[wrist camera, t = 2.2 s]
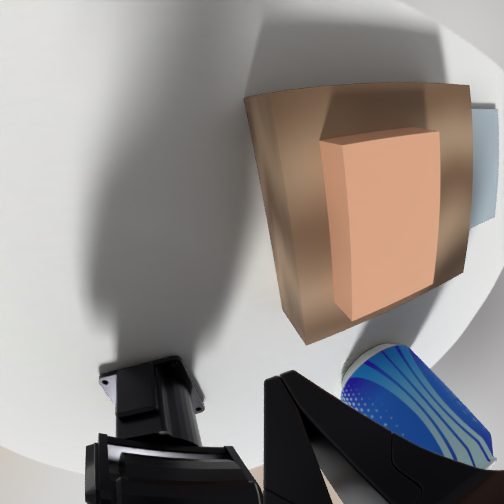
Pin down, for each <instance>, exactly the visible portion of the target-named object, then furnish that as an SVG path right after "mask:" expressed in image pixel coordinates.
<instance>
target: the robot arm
mask: <svg viewBox="0 0 504 504" xmlns="http://www.w3.org/2000/svg"><path fill="white" fill-rule="evenodd" d="M173 362H177V363H173ZM104 380H107V381H104ZM99 384H100V385H101V387H102V388H103V389H104V391H105V392H106V393H107V395H108V396H109V397H110V399H111V400H112V401H113V403H114V404H115V405H116V411H115V414H116V437H110V436H107V434H101V433H99V435H98V443H94V444H92V445H88V446H86V463H85V501H86V503H87V504H333V503H332V500H331V498H330V495H329V492H328V489H327V487H326V484H325V481H324V478H323V476H322V473H321V470H322V472H323V473H324V475H325V476H326V478H327V479H328V481H329V482H330V484H331V485H332V487H333V488H334V490H335V491H336V493H337V494H338V496H339V497H340V499H341V500H342V502H343V503H344V504H504V470H486V469H481V468H477V467H474V466H471V465H468V464H465V463H462V462H459V461H456V460H453V459H450V458H448V457H445V456H442V455H439V454H437V453H434V452H432V451H429V450H427V449H425V448H422V447H420V446H418V445H416V444H414V443H412V442H410V441H408V440H406V439H405V438H403V437H401V436H399V435H398V434H396V433H392V431H390V430H389V429H387V428H385V427H384V426H382V425H380V424H378V423H377V422H375V421H373V420H372V419H370V418H368V417H367V416H365V415H363V414H362V413H360V412H359V411H357V410H355V409H354V408H352V407H350V406H349V405H347V404H346V403H344V402H342V401H341V400H339V399H338V398H336V397H335V396H333V395H331V394H330V393H328V392H327V391H325V390H324V389H322V388H320V387H319V386H317V385H316V384H314V383H313V382H311V381H310V380H308V379H307V378H305V377H304V376H302V375H301V374H299V373H298V372H296V371H294V370H290V371H287V372H285V373H282V374H280V376H274V377H271V378H268V379H266V380H265V381H264V491H263V494H262V491H261V488H260V487H259V485H258V483H257V482H256V480H255V479H254V477H253V476H252V475H251V473H250V472H249V470H248V469H247V467H246V466H245V464H244V463H243V461H242V460H241V458H240V457H239V455H238V454H237V452H236V451H235V449H234V448H233V446H224V447H202V443H201V438H200V434H199V430H198V425H197V421H196V416H195V414H197V413H201V412H203V411H204V410H205V407H204V404H203V402H202V400H201V398H200V396H199V394H198V392H197V390H196V388H195V386H194V384H193V382H192V380H191V378H190V376H189V374H188V372H187V370H186V367H185V365H184V363H183V361H182V359H181V358H180V357H179V356H170V357H167V358H163V359H159V360H156V361H152V362H148V363H145V364H141V365H137V366H133V367H129V368H125V369H121V370H117V371H113V372H109V373H105V374H102V375H100V376H99ZM320 469H321V470H320Z"/></svg>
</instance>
